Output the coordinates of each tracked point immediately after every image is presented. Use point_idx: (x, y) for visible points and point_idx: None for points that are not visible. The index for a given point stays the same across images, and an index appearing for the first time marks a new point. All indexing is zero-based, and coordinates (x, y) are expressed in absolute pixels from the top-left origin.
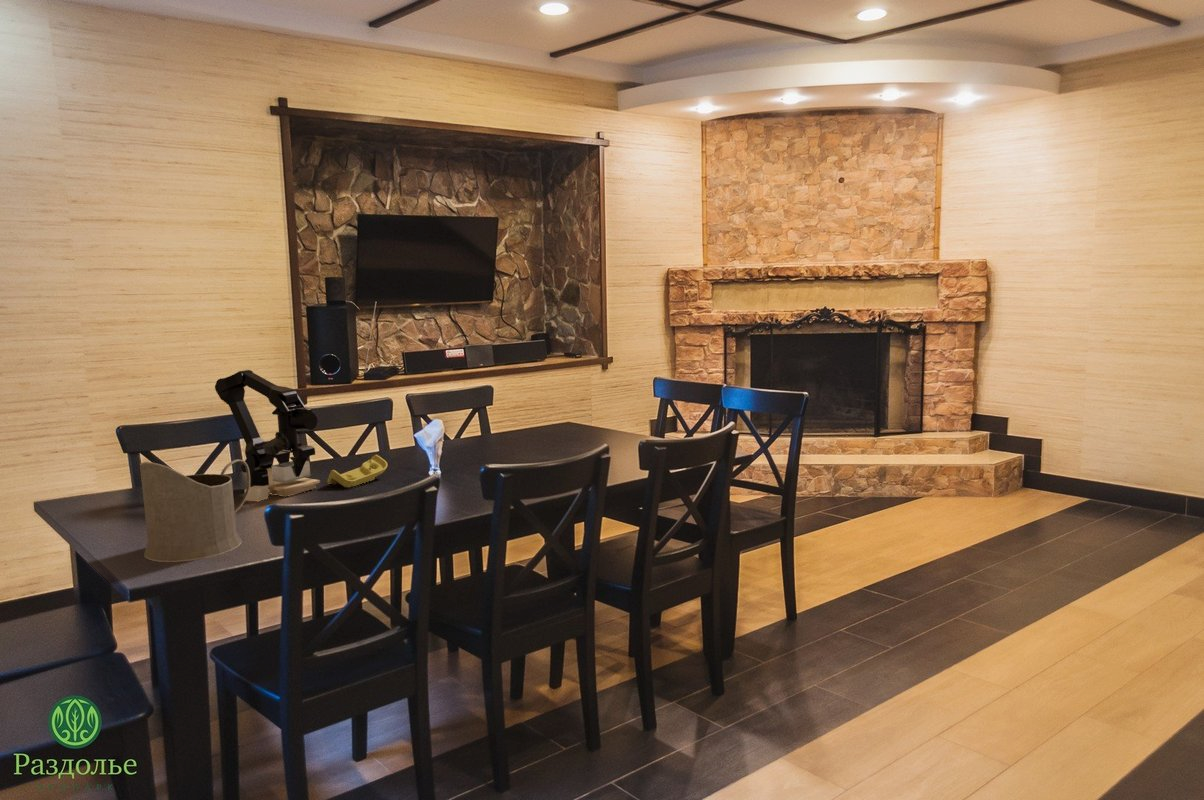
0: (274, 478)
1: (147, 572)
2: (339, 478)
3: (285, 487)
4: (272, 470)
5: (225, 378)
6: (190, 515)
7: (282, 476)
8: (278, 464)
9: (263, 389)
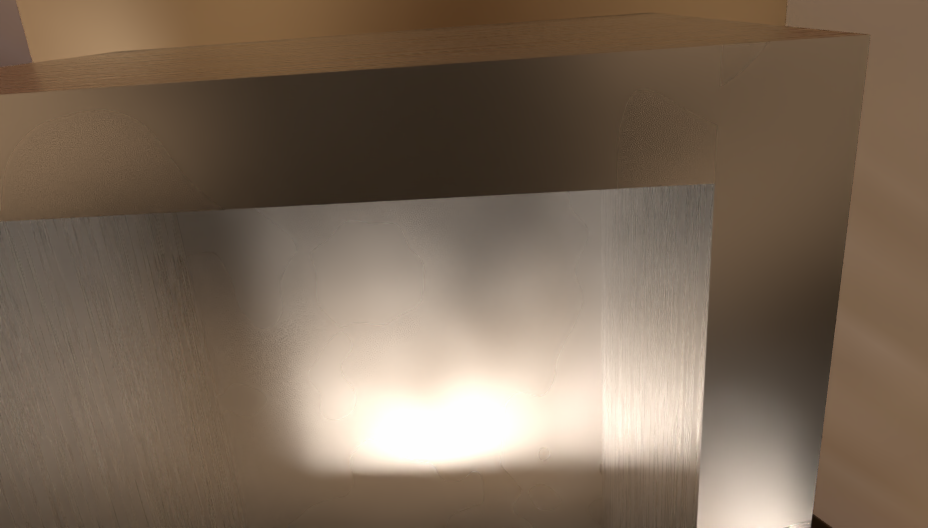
0: (572, 22)
1: None
2: None
3: (153, 39)
4: (716, 26)
5: None
6: None
7: (97, 59)
8: (714, 477)
9: None
